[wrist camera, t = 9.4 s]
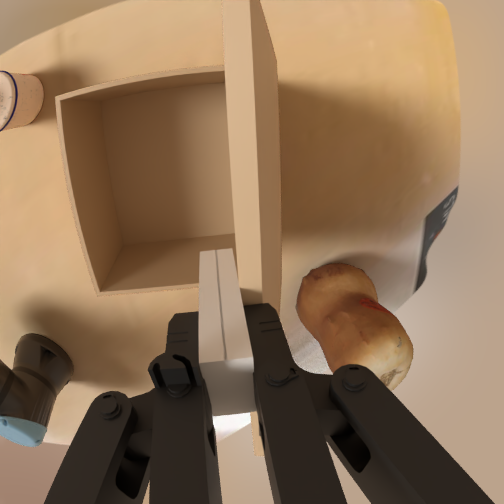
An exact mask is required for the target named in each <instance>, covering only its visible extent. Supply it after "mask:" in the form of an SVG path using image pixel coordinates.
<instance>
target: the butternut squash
mask: <svg viewBox="0 0 504 504" xmlns="http://www.w3.org/2000/svg"><path fill="white" fill-rule="evenodd" d="M296 310H297V313H298V316H299V319H300V320H301V322H302V323H303V325H304V326H305V327H306V329H307V330H308V331H309V332H310V333H311V334H312V335H313V337H314V338H315V339H316V340H317V341H318V342H319V344H320V346H321V348H322V350H323V352H324V355H325V358H326V360H327V363H328V365H329V368H330V369H331V371H332V372H333V373H334V372H335V370H337V369H338V368H339V367H341V366H344V365H347V364H359V365H362V366H365V367H367V368H368V369H370V370H371V371H372V372H373V373H374V374H375V375H376V376H377V377H378V378H379V379H380V380H381V381H382V382H383V383H384V384H385V385H386V387H387V388H388V389H389V390H390V391H392V390H394V389H395V388H396V387H397V386H398V384H400V383H401V382H402V380H403V379H404V378H405V376H406V374H407V373H408V371H409V368H410V365H411V362H412V359H413V345H412V343H411V340H410V338H409V336H408V335H407V333H406V331H405V330H404V328H403V326H402V325H401V323H400V322H399V320H398V319H397V317H395V316H394V315H393V314H392V313H391V312H390V311H388V310H387V309H386V308H384V307H383V306H382V305H380V304H379V303H378V298H377V294H376V290H375V287H374V285H373V283H372V281H371V279H370V278H369V277H368V276H367V275H366V274H365V272H364V271H363V270H362V269H359V268H356V267H354V266H351V265H348V264H342V263H334V264H327V265H323V266H321V267H319V268H316V269H312V270H311V271H310V272H309V274H308V275H307V276H305V277H303V280H302V283H301V286H300V289H299V293H298V296H297V304H296Z"/></svg>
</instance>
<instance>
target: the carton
mask: <svg viewBox="0 0 504 504" xmlns="http://www.w3.org/2000/svg"><path fill="white" fill-rule="evenodd" d="M55 104H56V115H57V125H58V133H59V141H60V148H61V155H62V161H63V167H64V173H65V179H66V184H67V189H68V194H69V199H70V203H71V208H72V212H73V216H74V220H75V225H76V228H77V232H78V236H79V240H80V244H81V247H82V251H83V254H84V258H85V261H86V264H87V267H88V271H89V274H90V277H91V280H92V283H93V286H94V289H95V292H96V295H97V296H110V295H122V294H135V293H146V292H158V291H168V290H179V289H189V288H199V265H200V252H201V251H210V250H220V249H229V248H232V250H233V255H234V261H235V266H236V271H237V277H238V266H237V253H236V240H235V226H234V212H233V198H232V184H231V169H230V153H229V137H228V121H227V103H226V85H225V66H224V65H217V66H204V67H194V68H185V69H176V70H169V71H162V72H156V73H149V74H144V75H138V76H133V77H128V78H123V79H118V80H114V81H109V82H105V83H101V84H97V85H93V86H89V87H86V88H82V89H78V90H75V91H71V92H68V93H65V94H62V95H58V96H55ZM238 282H239V279H238Z"/></svg>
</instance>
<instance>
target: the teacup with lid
mask: <svg viewBox="0 0 504 504" xmlns="http://www.w3.org/2000/svg"><path fill="white" fill-rule="evenodd" d="M43 98H44V92H43V86H42V84H41V82H40V80H39V79H38V78H37V77H35V76H33V75H29V74H17V73H8V72H6V71H0V131H3V130H7V129H12V128H17V127H22V126H25V125H27V124H29V123H30V122H32V121H33V120H34V119H35V118H36V116H37V115H38V113H39V111H40V109H41V107H42V103H43Z"/></svg>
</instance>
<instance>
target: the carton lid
mask: <svg viewBox="0 0 504 504" xmlns="http://www.w3.org/2000/svg"><path fill="white" fill-rule="evenodd" d="M221 1H222V24H223V46H224V66H225V85H226V103H227V121H228V137H229V153H230V169H231V184H232V198H233V212H234V226H235V240H236V253H237V266H238V279H239V288H240V293H241V298H242V303H243V306H245V305H253V304H262V303H269V304H270V305H271V306H272V307H274V308H275V309H276V310H277V313H278V316H279V312H280V297H281V280H282V237H281V164H280V127H279V99H278V75H277V60H276V56H275V52H274V48H273V45H272V41H271V37H270V34H269V30H268V27H267V23H266V20H265V16H264V13H263V10H262V6H261V3H260V0H221ZM250 415H251V425H252V435H253V444H254V454H255V456H264V451H263V446H262V441H261V436H259V424H258V415H257V411H255V412H250Z"/></svg>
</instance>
